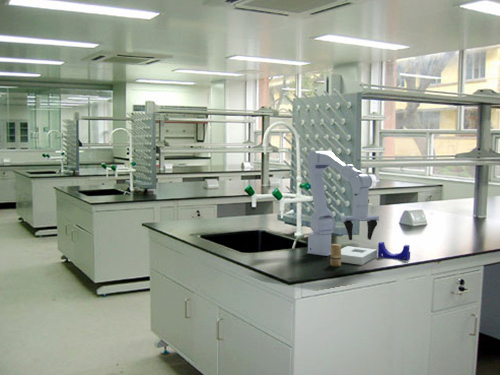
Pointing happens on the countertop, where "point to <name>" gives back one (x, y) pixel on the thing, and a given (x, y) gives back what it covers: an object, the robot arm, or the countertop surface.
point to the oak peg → (335, 255)
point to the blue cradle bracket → (386, 254)
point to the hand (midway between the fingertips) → (359, 239)
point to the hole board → (357, 255)
